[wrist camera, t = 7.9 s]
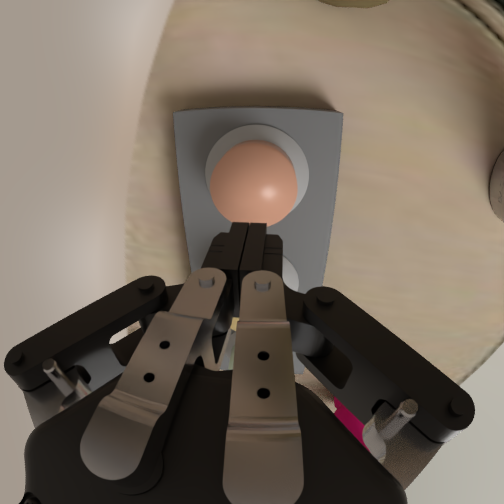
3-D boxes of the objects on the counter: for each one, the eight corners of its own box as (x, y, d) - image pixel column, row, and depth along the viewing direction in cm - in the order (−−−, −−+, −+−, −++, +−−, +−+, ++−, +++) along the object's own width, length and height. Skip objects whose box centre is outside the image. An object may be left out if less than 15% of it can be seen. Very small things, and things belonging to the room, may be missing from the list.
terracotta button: (297, 141, 18) (299, 147, 16) (293, 214, 21) (294, 229, 19) (215, 140, 18) (207, 146, 16) (219, 212, 21) (212, 226, 19)
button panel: (336, 110, 19) (343, 113, 17) (302, 358, 35) (302, 375, 33) (183, 109, 20) (172, 112, 18) (213, 353, 36) (209, 369, 34)
